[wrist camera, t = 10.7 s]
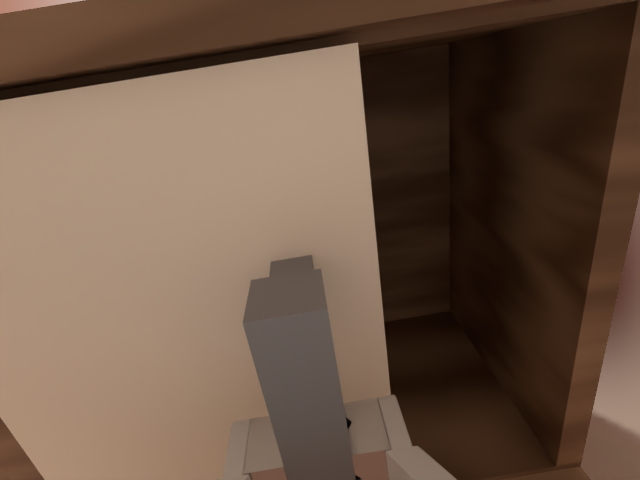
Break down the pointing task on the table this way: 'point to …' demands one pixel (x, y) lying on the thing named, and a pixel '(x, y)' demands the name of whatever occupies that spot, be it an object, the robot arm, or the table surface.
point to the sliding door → (189, 269)
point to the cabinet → (435, 188)
